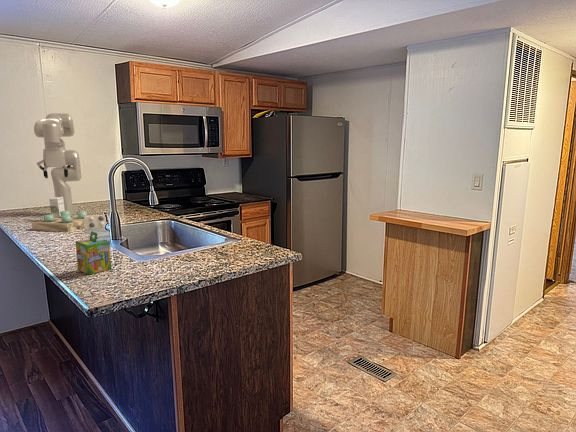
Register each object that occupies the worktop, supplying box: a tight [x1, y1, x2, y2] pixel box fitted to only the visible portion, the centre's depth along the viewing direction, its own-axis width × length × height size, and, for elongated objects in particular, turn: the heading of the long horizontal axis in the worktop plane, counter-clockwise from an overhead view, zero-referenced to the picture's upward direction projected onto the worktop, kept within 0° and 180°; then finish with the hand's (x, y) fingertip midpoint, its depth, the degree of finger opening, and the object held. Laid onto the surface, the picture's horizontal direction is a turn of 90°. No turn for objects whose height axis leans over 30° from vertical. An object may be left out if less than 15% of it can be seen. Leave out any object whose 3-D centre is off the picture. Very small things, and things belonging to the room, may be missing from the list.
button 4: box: [76, 210, 88, 219], centre depth 238 cm, size 5×5×4 cm
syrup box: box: [48, 196, 65, 217], centre depth 252 cm, size 6×6×14 cm
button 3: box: [61, 215, 71, 223], centre depth 227 cm, size 5×5×4 cm
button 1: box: [43, 213, 54, 222], centre depth 230 cm, size 5×5×4 cm
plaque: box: [84, 214, 107, 230], centre depth 230 cm, size 1×12×7 cm, turn 115°
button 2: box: [60, 211, 70, 216], centre depth 241 cm, size 5×5×4 cm
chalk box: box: [75, 231, 112, 276], centre depth 154 cm, size 9×9×15 cm
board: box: [31, 214, 85, 233], centre depth 235 cm, size 24×24×4 cm
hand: (56, 177), depth 225 cm, fingers open, 9 cm apart
